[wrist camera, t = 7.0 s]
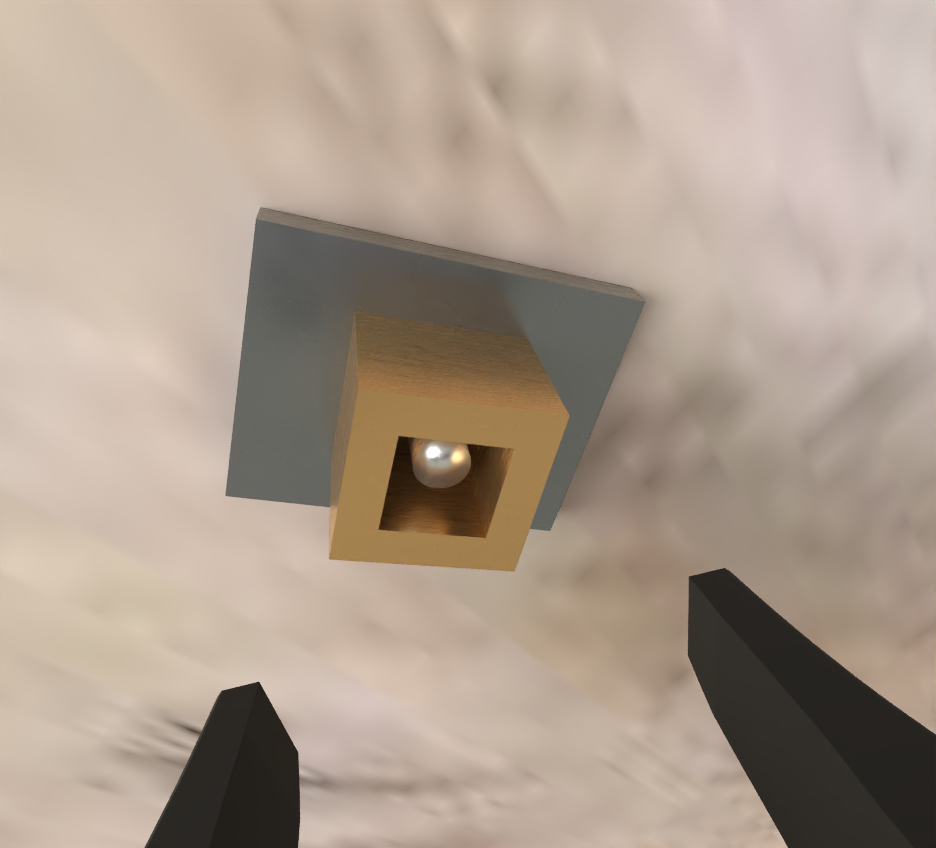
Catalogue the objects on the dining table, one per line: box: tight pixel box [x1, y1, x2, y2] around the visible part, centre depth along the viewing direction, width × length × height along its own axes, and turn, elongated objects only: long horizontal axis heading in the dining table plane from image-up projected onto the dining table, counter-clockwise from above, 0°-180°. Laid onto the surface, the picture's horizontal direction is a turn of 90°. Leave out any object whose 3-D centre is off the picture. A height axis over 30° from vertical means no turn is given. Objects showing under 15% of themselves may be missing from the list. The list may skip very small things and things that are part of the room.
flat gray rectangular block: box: [226, 208, 645, 531], centre depth 18 cm, size 10×8×4 cm
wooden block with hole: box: [329, 311, 569, 571], centre depth 17 cm, size 5×5×4 cm
